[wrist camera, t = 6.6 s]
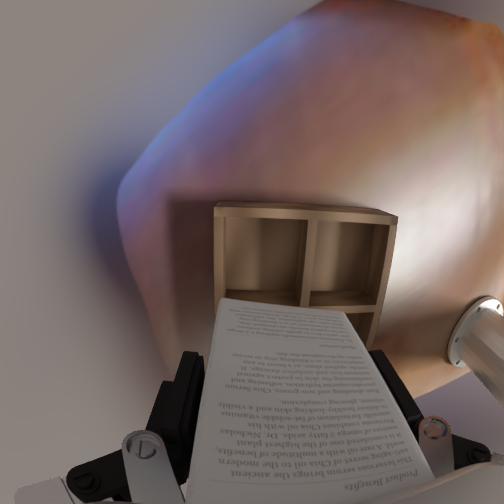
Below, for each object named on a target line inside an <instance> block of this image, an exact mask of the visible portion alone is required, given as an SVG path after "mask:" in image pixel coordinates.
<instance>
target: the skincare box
mask: <svg viewBox="0 0 504 504" xmlns="http://www.w3.org/2000/svg"><path fill="white" fill-rule="evenodd" d="M433 479H435V477H434V475H433V473H432V471H431V469H430V467H429V465H428V463H427V461H426V459H425V457H424V455H423V453H422V451H421V449H420V447H419V445H418V443H417V441H416V439H415V437H414V435H413V433H412V431H411V429H410V427H409V425H408V423H407V421H406V419H405V418H404V416H403V414H402V412H401V410H400V408H399V406H398V405H397V403H396V401H395V399H394V397H393V396H392V394H391V392H390V390H389V388H388V387H387V385H386V383H385V381H384V379H383V378H382V376H381V374H380V372H379V371H378V369H377V367H376V365H375V364H374V362H373V360H372V358H371V357H370V355H369V353H368V351H367V350H366V348H365V346H364V344H363V343H362V341H361V340H360V338H359V336H358V334H357V333H356V331H355V330H354V328H353V326H352V324H351V323H350V321H349V320H348V318H347V316H346V315H345V313H344V312H343V311H333V310H322V309H311V308H301V307H292V306H283V305H274V304H265V303H258V302H250V301H242V300H235V299H228V298H221V299H220V301H219V305H218V310H217V315H216V321H215V326H214V331H213V337H212V342H211V348H210V354H209V358H208V363H207V369H206V374H205V380H204V385H203V391H202V397H201V402H200V408H199V414H198V421H197V427H196V433H195V440H194V446H193V453H192V458H191V465H190V472H189V478H188V486H187V492H186V500H185V504H353V503H358V502H362V501H367V500H371V499H375V498H379V497H382V496H386V495H389V494H393V493H396V492H399V491H402V490H405V489H408V488H411V487H414V486H417V485H420V484H422V483H425V482H428V481H430V480H433Z"/></svg>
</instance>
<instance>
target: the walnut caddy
mask: <svg viewBox="0 0 504 504" xmlns="http://www.w3.org/2000/svg"><path fill="white" fill-rule="evenodd" d="M397 223H398V217H397V216H395V215H392V214H389V213H387V212H384V211H381V210H379V209H369V208H357V207H345V206H331V205H315V204H298V203H277V202H250V201H219V202H218V203H217V204H216V205H215V206H214V301H215V321H216V315H217V310H218V305H219V301H220V299H221V298H228V299H235V300H242V301H250V302H258V303H265V304H274V305H283V306H292V307H301V308H311V309H322V310H333V311H343V312H344V313H345V315H346V316H347V318H348V320H349V321H350V323H351V324H352V326H353V328H354V330H355V331H356V333H357V334H358V336H359V338H360V340H361V341H362V343H363V344H364V346H365V348H366V350H367V351H371V349H372V345H373V342H374V338H375V334H376V331H377V327H378V323H379V319H380V315H381V311H382V307H383V302H384V298H385V293H386V289H387V284H388V279H389V274H390V268H391V263H392V257H393V251H394V244H395V238H396V231H397Z"/></svg>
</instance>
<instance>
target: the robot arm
mask: <svg viewBox="0 0 504 504" xmlns="http://www.w3.org/2000/svg"><path fill="white" fill-rule="evenodd" d="M368 353H369V355H370V357H371V358H372V360H373V362H374V364H375V365H376V367H377V369H378V371H379V372H380V374H381V376H382V378H383V379H384V381H385V383H386V385H387V387H388V388H389V390H390V392H391V394H392V396H393V397H394V399H395V401H396V403H397V405H398V406H399V408H400V410H401V412H402V414H403V416H404V418H405V419H406V421H407V423H408V425H409V427H410V429H411V431H412V433H413V435H414V437H415V439H416V441H417V443H418V445H419V447H420V449H421V451H422V453H423V455H424V457H425V459H426V461H427V463H428V465H429V467H430V469H431V471H432V473H433V475H434V477H435V479H433V480H430V481H428V482H425V483H422V484H420V485H417V486H414V487H411V488H408V489H405V490H402V491H399V492H396V493H393V494H389V495H386V496H382V497H379V498H375V499H371V500H367V501H362V502H358V503H353V504H504V455H502V454H499V453H496V452H493V453H492V454H490V451H489V449H488V448H487V447H486V446H485V445H483V444H481V443H478V442H475V441H471V440H468V439H465V438H462V437H459V436H456V435H453V434H451V428H450V425H449V424H448V422H447V421H446V420H444V419H443V418H441V417H438V416H428V417H425V418H424V417H423V415H422V413H421V411H420V410H419V408H418V407H417V405H416V403H415V401H414V400H413V398H412V396H411V395H410V393H409V391H408V390H407V388H406V387H405V385H404V383H403V382H402V380H401V379H400V378H399V376H398V374H397V373H396V371H395V370H394V368H393V367H392V365H391V363H390V362H389V360H388V359H387V357H386V356H385V354H384V352H383V351H382V350H371V351H368ZM447 353H448V358H449V361H450V362H451V363H452V364H453V365H454V366H455V367H465V366H468V367H469V369H470V370H471V371H472V372H473V373H474V374H475V375H476V376H477V377H478V379H479V380H480V381H481V382H482V383H483V385H484V386H485V387H486V388H487V389H488V390H489V392H490V393H491V394H492V395H493V396H494V398H495V399H496V400H497V401H498V402H499V403H500V405H501V406H502V407H503V409H504V316H503V307H502V304H501V302H500V301H499V300H497V299H496V298H494V297H491V296H489V297H484V298H482V299H480V300H479V301H477V302H475V303H474V304H473V305H472V306H471V307H470V308H469V309H468V310H467V311H466V312H465V313H464V315H463V316H462V317H461V319H460V320H459V322H458V323H457V325H456V327H455V329H454V330H453V332H452V335H451V337H450V340H449V344H448V350H447ZM204 380H205V372H204V359H203V356H199V354H198V352H189V351H184V352H183V355H182V358H181V361H180V364H179V367H178V370H177V373H176V376H175V379H174V382H172V381H163V382H162V384H161V386H160V390H159V392H158V395H157V398H156V400H155V403H154V406H153V409H152V412H151V415H150V417H149V420H148V423H147V426H146V429H145V430H137V431H134V432H132V433H130V434H128V435H127V436H126V437H125V438H124V440H123V442H122V449H120V450H118V451H115V452H113V453H110V454H108V455H105V456H103V457H100V458H98V459H95V460H93V461H90V462H87V463H84V464H82V465H78V466H76V467H74V468H72V469H71V470H70V471H69V472H68V474H67V477H65V478H62V479H61V478H60V477H56V478H53V479H50V480H47V481H43V482H40V483H36V484H32V485H29V486H25V487H22V488H20V489H18V490H17V492H16V493H15V497H14V499H15V504H185V498H184V495H183V493H182V490H181V487H180V485H182V484H184V483H186V480H187V478H189V472H190V465H191V458H192V453H193V446H194V440H195V433H196V427H197V421H198V414H199V408H200V402H201V397H202V391H203V385H204Z"/></svg>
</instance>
